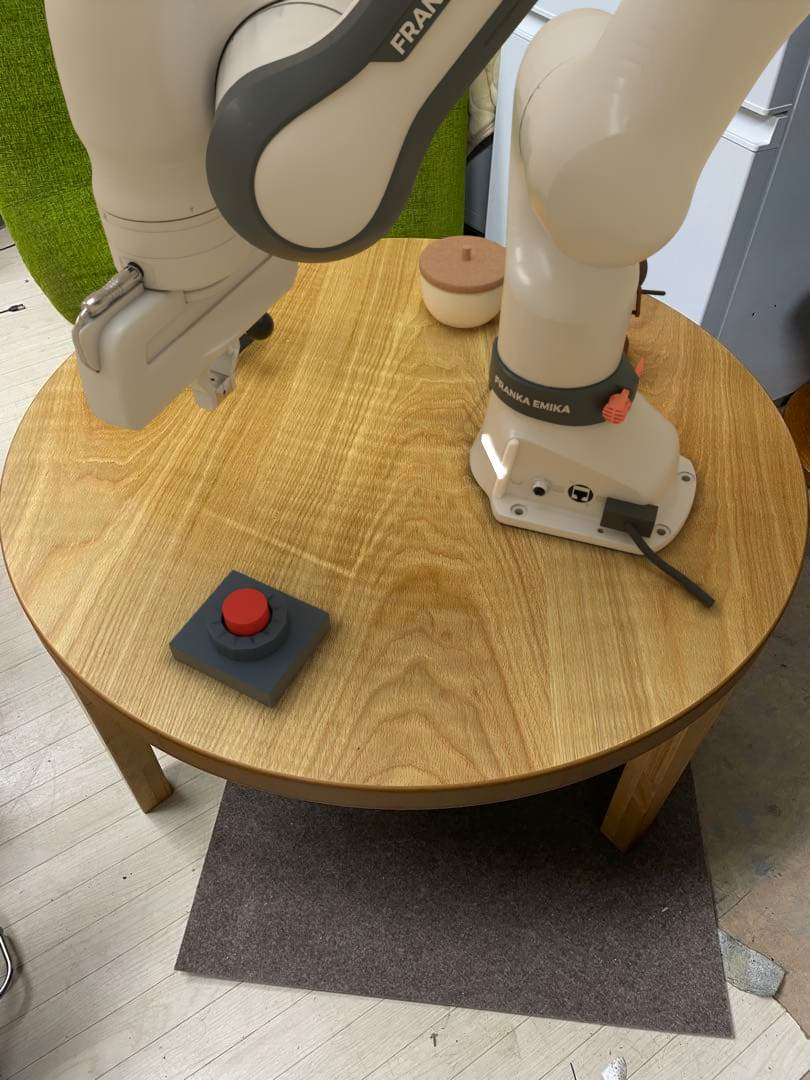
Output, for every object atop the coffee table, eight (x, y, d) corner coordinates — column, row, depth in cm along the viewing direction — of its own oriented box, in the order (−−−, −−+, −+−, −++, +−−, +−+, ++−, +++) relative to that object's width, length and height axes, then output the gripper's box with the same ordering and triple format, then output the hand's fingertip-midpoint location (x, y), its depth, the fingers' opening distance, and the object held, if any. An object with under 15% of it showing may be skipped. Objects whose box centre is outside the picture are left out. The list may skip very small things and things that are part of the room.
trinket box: (509, 344, 101) (517, 273, 94) (417, 343, 101) (418, 272, 94) (504, 292, 108) (511, 222, 101) (418, 291, 108) (419, 221, 101)
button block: (331, 627, 75) (328, 600, 72) (272, 708, 70) (266, 682, 67) (236, 584, 78) (229, 555, 75) (173, 658, 73) (163, 631, 70)
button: (278, 611, 72) (275, 598, 70) (253, 643, 70) (250, 630, 68) (242, 594, 73) (239, 581, 71) (216, 625, 71) (213, 613, 69)
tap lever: (275, 335, 94) (283, 317, 91) (258, 351, 92) (266, 333, 90) (171, 254, 93) (177, 232, 91) (152, 268, 91) (157, 247, 89)
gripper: (108, 330, 48) (164, 501, 59) (304, 171, 60) (321, 337, 70) (23, 301, 50) (92, 471, 61) (228, 152, 62) (256, 316, 72)
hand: (217, 398), depth 66 cm, fingers closed
